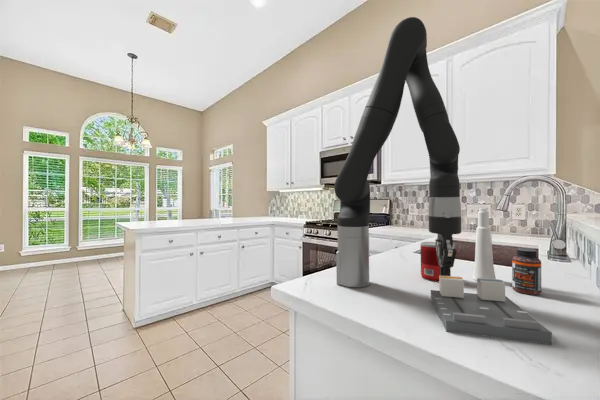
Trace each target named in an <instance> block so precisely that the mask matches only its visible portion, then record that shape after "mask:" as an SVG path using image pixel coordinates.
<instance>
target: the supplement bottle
mask: <svg viewBox="0 0 600 400" xmlns="http://www.w3.org/2000/svg"><path fill="white" fill-rule="evenodd" d="M511 260H512V261H511V265H512V266H511V267H512V268H511V269H512V274H511V276H512V277H511V279H512V280H511V284H512V285H511V287H512V289H513V291H515V292H517V293H520V294H524V295H531V296H538V295H541V294H542V260H541V259H540V258H539V257H537V250H535V249H532V248H522V247H521V248H519V247H518V248H516V255H514V256H513V257H512V259H511Z"/></svg>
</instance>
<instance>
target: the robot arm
mask: <svg viewBox="0 0 600 400" xmlns="http://www.w3.org/2000/svg"><path fill="white" fill-rule="evenodd" d="M427 35H428V33H427V28H426V26H425V24H424V22H423V21H422V20H421V18H419V17H416V16H410V17H407V18H405V19H401V21H399V23H398V24H397V25H396V26H394V28H393V30H392V31H391V33H390V36H389V38H388V41H387V42H388V43H387V46H386V50H385V53H384V57H383V60H382V65H381V67H380V70H379V73H378V76H377V78H376V80H375V83H374V86H373V88H372V89H371V93H370V95H369V98H368V100H367V102H366V105H365V106H364V110H363V112H362V115H361V117H360V121H359V124H358V127H357V129H356V132H355V135H354V138H353V141H352V144H351V147H350V150H349V152H348V155H347V157H346V159H345V161H344V162H343V165H342V167H341V169H340V171H339V173H338V174H337V177H336V178H335V182H334V186H333V187H334V194H335V196H336V198H337V199H338V200H339V201H340V202H339V203H340V204H339V205H340V209H339V213H338V215H337V220H336V221H337V251H336V253H335V255H336V256H335V257H336V258H335V259H336V265H335V266H336V268H335V269H336V285H341V286H344V287H348V288H362V287H363V288H364V287H365V288H366V287H367V286H369V285H370V237H369V236H370V233H369V232H370V231H369V230H370V229H369V228H370V227H369V226H370V224H369V223H370V222H369V221H370V216H371V215H370V214H371V186H370V183H369V180H368V177H369V174H370V170H371V167H372V165H373V162H374V160H375V158H376V156H377V155H378V154H379V152H380V150H381V149H382V147H383V146H384V145H385V142H386V141H387V140H388V138H389V136H390V134H391V132H392V130H393V127H394V125H395V123H396V120H397V118H398V115H399V111H400V108H401V104H402V100H403V95H404V89H405V84H407V85H406V86H407V87H408V90H409V94H410V98H411V103H412V106H413V107H412V108H413V110H414V113H415V116H416V119H417V123H418V125H419V128H420V130H421V132H422V134H423V137H424V141H425V145H426V149H427V154H428V157H429V159H428V160H429V172H430V175H429V176H430V177H429V181H428V182H429V184H428V186H429V187H428V188H429V189H428V190H429V191H428V194H429V195H428V196H429V197H428V198H429V199H428V206H427V207H428V210H427V211H428V215H427V216H428V232H429V233H432V234H436V235H437V238H436V239H434V242H435V245H436V252H437V260H438V262H439V266H440V276H452V273H451V269H452V268H454V264H455V260H456V256H457V255H456V254H457V249H456V241H455V240H454V239H453V236H454V235H460V234H461V233H462V203H461V198H460V196H461V191H460V190H461V189H460V188H461V187H460V178H459V173H458V172H459V155H460V151H461V149H460V143H459V141H458V137H457V135H456V132H455V131H454V128H453V127H452V125H451V123H450V118H449V114H448V111H447V108H446V106H445V103H444V100H443V98H442V95H441V93H440V91H439V89H438V87H437V85H436V83H435V82H434V79H433V77H432V74H431V72H430V69H429V62H428V56H427V46H428V45H427V43H428V42H427V41H428V37H427Z"/></svg>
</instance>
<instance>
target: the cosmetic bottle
mask: <svg viewBox="0 0 600 400" xmlns="http://www.w3.org/2000/svg"><path fill="white" fill-rule="evenodd" d="M489 214H490V213H489V211H488V208H484V207H480V208H478V212H477V227H476V229H475V230H476V231H475V249H474V250H475V251H474V266H473V273H472V277H471V278H472V280H474V281H476V282H477V278H484V279H497V278H496V271H495V267H494V258H493V257H494V255H493V244H492V243H493V242H492V241H493V240H492V239H493V238H492V228H491V227H490V215H489Z"/></svg>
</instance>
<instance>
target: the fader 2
mask: <svg viewBox="0 0 600 400" xmlns="http://www.w3.org/2000/svg"><path fill="white" fill-rule="evenodd" d="M476 294H477V295H478V296H479V297H480V298H481V299H482V300H493V301H504V302H505V296H506V283H505V282H504V280H502V279H497V278H496V279H484V278H477V281H476Z"/></svg>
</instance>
